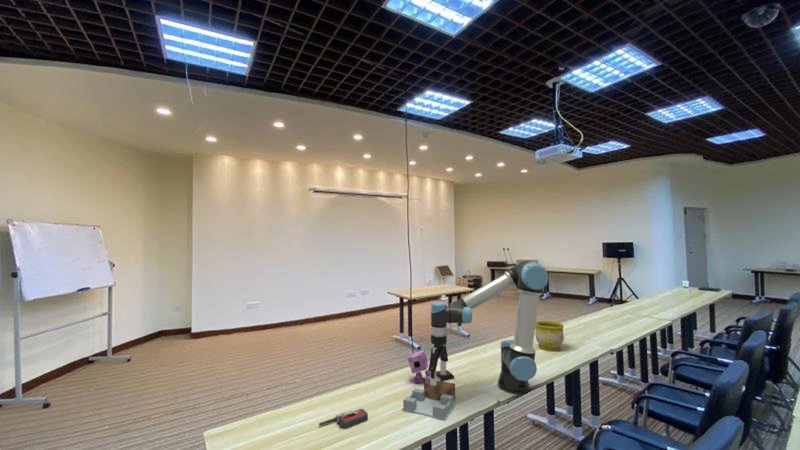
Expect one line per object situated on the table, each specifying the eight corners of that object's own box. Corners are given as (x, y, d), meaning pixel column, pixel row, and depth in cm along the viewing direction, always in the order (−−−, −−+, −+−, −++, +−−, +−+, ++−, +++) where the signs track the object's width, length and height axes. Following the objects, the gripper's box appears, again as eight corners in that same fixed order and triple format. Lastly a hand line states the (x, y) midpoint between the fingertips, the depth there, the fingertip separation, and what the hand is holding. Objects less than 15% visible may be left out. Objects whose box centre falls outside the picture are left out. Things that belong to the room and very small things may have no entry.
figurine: (433, 376, 189) (433, 354, 190) (446, 373, 193) (446, 352, 193) (440, 381, 182) (440, 358, 183) (454, 378, 186) (453, 356, 186)
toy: (430, 384, 177) (421, 355, 179) (416, 387, 179) (407, 359, 181) (433, 376, 188) (424, 349, 190) (419, 380, 189) (410, 353, 191)
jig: (454, 406, 156) (454, 396, 156) (445, 420, 144) (444, 409, 144) (414, 397, 165) (414, 387, 165) (402, 409, 153) (402, 399, 153)
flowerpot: (569, 352, 225) (568, 327, 226) (541, 352, 226) (541, 327, 226) (557, 343, 243) (556, 320, 244) (531, 344, 244) (531, 320, 244)
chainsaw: (360, 411, 153) (318, 426, 141) (360, 401, 153) (318, 415, 141) (371, 420, 145) (326, 436, 134) (370, 409, 146) (326, 425, 134)
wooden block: (455, 398, 163) (455, 381, 164) (452, 403, 159) (452, 385, 159) (427, 393, 169) (427, 376, 170) (424, 397, 165) (423, 380, 165)
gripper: (440, 327, 178) (440, 369, 177) (421, 340, 156) (421, 388, 155) (454, 329, 175) (454, 371, 174) (436, 343, 152) (436, 391, 152)
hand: (438, 379), depth 165 cm, fingers open, 13 cm apart
